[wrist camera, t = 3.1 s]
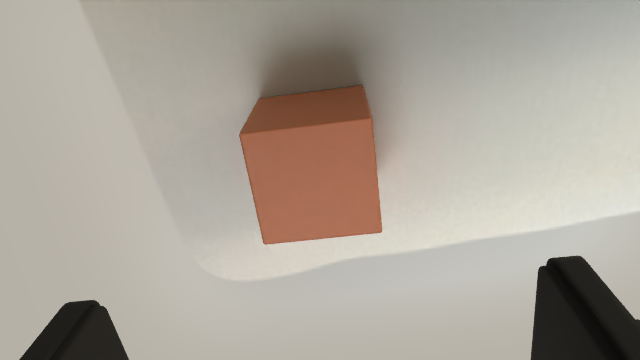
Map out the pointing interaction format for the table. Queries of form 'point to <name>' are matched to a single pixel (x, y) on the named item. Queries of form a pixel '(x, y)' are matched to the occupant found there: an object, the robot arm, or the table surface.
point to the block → (313, 165)
